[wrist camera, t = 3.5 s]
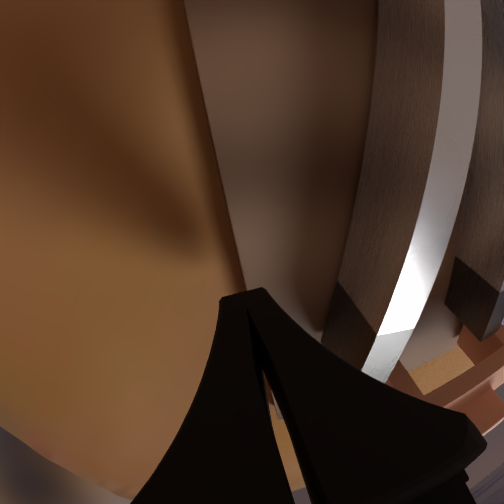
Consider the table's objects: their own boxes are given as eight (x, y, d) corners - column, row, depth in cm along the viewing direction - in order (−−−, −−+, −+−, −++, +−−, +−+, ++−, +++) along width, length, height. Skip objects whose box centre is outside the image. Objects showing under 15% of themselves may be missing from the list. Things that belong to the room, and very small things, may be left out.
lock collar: (372, 352, 13) (436, 458, 8) (479, 302, 14) (545, 371, 9) (366, 386, 15) (416, 479, 9) (466, 337, 16) (521, 403, 10)
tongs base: (365, -103, 4) (419, -138, 1) (445, -74, 4) (501, -89, 1) (404, 321, 13) (444, 372, 10) (462, 295, 14) (502, 335, 11)
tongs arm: (378, -38, 5) (438, -63, 3) (414, -21, 6) (475, -37, 3) (320, 340, 12) (348, 396, 10) (351, 336, 12) (382, 387, 10)
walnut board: (162, -110, 4) (161, -124, 3) (462, -66, 5) (475, -69, 4) (274, 406, 16) (278, 419, 15) (462, 329, 17) (470, 338, 16)
